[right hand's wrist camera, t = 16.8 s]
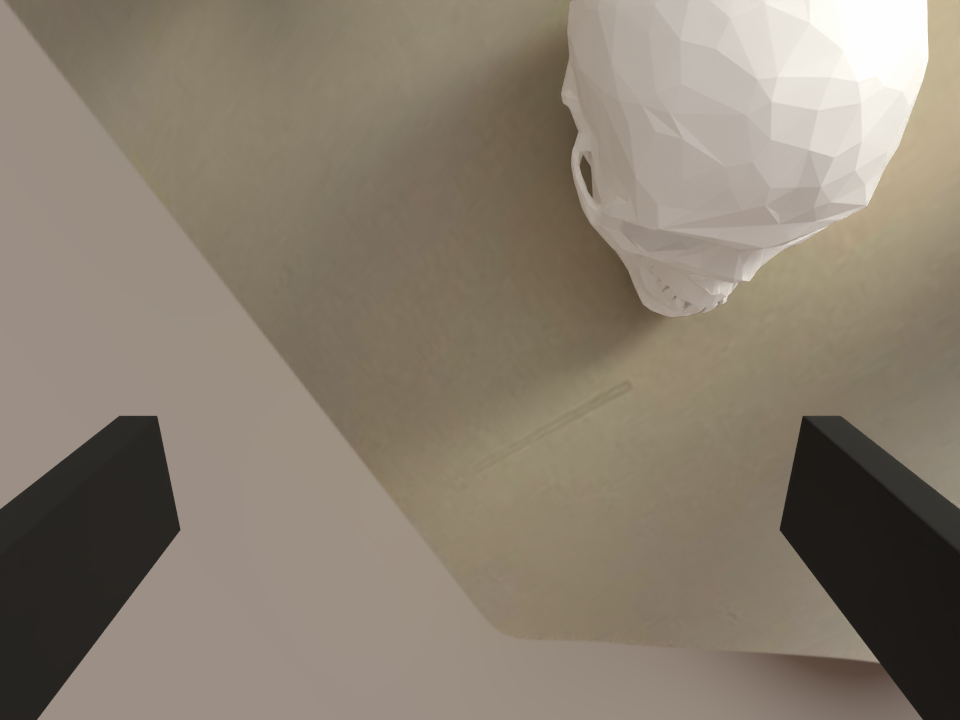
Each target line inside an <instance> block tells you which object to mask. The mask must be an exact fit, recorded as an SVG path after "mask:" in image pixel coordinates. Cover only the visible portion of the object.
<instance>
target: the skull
mask: <svg viewBox="0 0 960 720" xmlns="http://www.w3.org/2000/svg"><path fill="white" fill-rule="evenodd" d="M567 37H568V47H569V61H568V66H567V70H566V74H565V78H564V83H563V87H562V91H561V97H562V102H563V104H565V105H566V106H568V107H569V109H570V111H571V114H572V116H573V119H574V121H575V124H576V127H577V129H578V135H577V138H576V141H575V145H574V148H573V150H572V159H571V167H572V173H573V179H574V183H575V186H576V190H577V193H578V196H579V200H580V203H581V207H582V210H583V212H584V213H585V215H586V217H587V218H588V220H589V222H590V224H591V225H592V226H593V227H594V228H595V230H596V231H597V232H598V233H599V234H600V235H601V236H602V237H603V239H604V240H605V241H606V242H607V243H608V244H609V245H610V247H611V248H612V249H614V250H615V251H616V253H617V254H618V256H619V257H620V259H621V260H622V262H623V263H624V265H625V266H626V268H627V269H628V271H629V274H630V277H631V279H632V282H633V284H634V287H635V289H636V291H637V293H638V295H639V298H640V300H641V302H642V304H643V305H644V306H646V307H647V308H648V309H650V310H651V311H654V312H656V313H659V314H662V315H664V316H667V317H681V316H688V315H692V314H695V313H699V312H700V311H701V310H702V309H703V311H702V313H705V312H708V311H711V310H713V309H714V308H715V307H716V306H718V304H719V305H721V304H724V303H725V302H726V301H727V298H728V295H729V294H730V293H732V291H733V290H734V288H735V287H736V286H737V284H738V283H741V282H748V281H750V280H751V278H752V277H753V276H754V275H755V273H756V272H757V271H758V269H759V268H760V267H761V266H762V265H764V264H765V263H766V262H767V261H769V260H770V259H771V258H773V257H774V256H775V255H776V254H778V253H779V252H780V251H782V250H785V249H787V248H790V247H792V246H795V245H797V244H800V243H802V242H803V241H805V240H807V239H808V238H810V237H812V236H813V235H815V234H816V233H818V232H820V231H821V230H823V229H825V228H826V227H828V226H829V225H830V224H832V223H835V222H837V221H839V220H841V219H843V218H845V217H847V216H849V215H852V214H854V213H856V212H858V211H860V210H862V209H864V208H866V207H867V206H868V203H869V201H870V199H871V197H872V195H873V193H874V191H875V188H876V186H877V184H878V182H879V180H880V178H881V176H882V174H883V171H884V169H885V167H886V165H887V164H888V162H889V161H890V159H891V157H892V156H893V154H894V153H895V151H896V149H897V148H898V146H899V144H900V141H901V138H902V136H903V133H904V130H905V127H906V125H907V122H908V119H909V117H910V114H911V111H912V109H913V106H914V103H915V101H916V98H917V95H918V92H919V90H920V87H921V84H922V82H923V78H924V74H925V70H926V66H927V62H928V26H927V0H571V2H570V6H569V14H568V25H567ZM583 155H584V157H585V158H586V160H587V162H588V163H589V164H590V166H591V173H592V189H593V198H592V197H591V195H590V194H589V193H588V190H587V187H586V184H585V181H584V179H583V177H582V175H581V170H580V163H581V160H582V156H583ZM702 313H701V314H702Z"/></svg>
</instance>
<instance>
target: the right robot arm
mask: <svg viewBox="0 0 960 720" xmlns="http://www.w3.org/2000/svg"><path fill="white" fill-rule="evenodd" d="M179 531H180V525H179V521H178V516H177V511H176V506H175V501H174V496H173V491H172V486H171V481H170V476H169V472H168V467H167V462H166V457H165V452H164V447H163V442H162V437H161V432H160V428H159V423H158V418H157V416H119V417H118V418H116V419H115V420H114V421H112V422H111V423H110V424H109V425H107V426H106V427H105V428H103V429H102V430H101V431H100V432H98V433H97V434H96V435H94V436H93V437H92V438H91V439H89V440H88V441H87V442H86V443H84V444H83V445H82V446H81V447H79V448H78V449H77V450H75V451H74V452H73V453H72V454H70V455H69V456H68V457H66V458H65V459H64V460H63V461H61V462H60V463H59V464H58V465H56V466H55V467H54V468H52V469H51V470H50V471H49V472H47V473H46V474H45V475H44V476H42V477H41V478H40V479H38V480H37V481H36V482H35V483H33V484H32V485H31V486H29V487H28V488H27V489H26V490H24V491H23V492H22V493H20V494H19V495H18V496H17V497H15V498H14V499H13V500H12V501H10V502H9V503H8V504H6V505H5V506H4V507H3V508H1V509H0V720H37V719H38V717H39V716H40V715H41V714H42V712H43V711H44V710H45V708H46V707H47V706H48V704H49V703H50V702H51V700H52V699H53V698H54V696H55V695H56V694H57V692H58V691H59V690H60V689H61V687H62V686H63V684H64V683H65V682H66V681H67V679H68V678H69V677H70V675H71V674H72V673H73V671H74V670H75V669H76V667H77V666H78V665H79V663H80V662H81V661H82V659H83V658H84V657H85V655H86V654H87V653H88V651H89V650H90V649H91V648H92V646H93V645H94V644H95V642H96V641H97V640H98V638H99V637H100V636H101V634H102V633H103V632H104V630H105V629H106V628H107V626H108V625H109V624H110V622H111V621H112V620H113V618H114V617H115V616H116V614H117V613H118V612H119V610H120V609H121V608H122V606H123V605H124V604H125V603H126V601H127V600H128V599H129V597H130V596H131V595H132V593H133V592H134V591H135V589H136V588H137V587H138V585H139V584H140V583H141V581H142V580H143V579H144V577H145V576H146V575H147V573H148V572H149V571H150V569H151V568H152V567H153V565H154V564H155V563H156V562H157V560H158V559H159V558H160V556H161V555H162V554H163V552H164V551H165V550H166V548H167V547H168V546H169V544H170V543H171V542H172V540H173V539H174V538H175V536H176V535H177V534H178V532H179ZM780 531H781V532H782V534H783V535H784V536H785V538H786V539H787V540H788V542H789V543H790V544H791V546H792V547H793V548H794V550H795V551H796V552H797V554H798V555H799V556H800V558H801V559H802V560H803V562H804V563H805V564H806V565H807V567H808V568H809V569H810V571H811V572H812V573H813V575H814V576H815V577H816V579H817V580H818V581H819V583H820V584H821V585H822V587H823V588H824V589H825V591H826V592H827V593H828V595H829V596H830V597H831V599H832V600H833V601H834V603H835V604H836V605H837V606H838V608H839V609H840V610H841V612H842V613H843V614H844V616H845V617H846V618H847V620H848V621H849V622H850V624H851V625H852V626H853V628H854V629H855V630H856V632H857V633H858V634H859V636H860V637H861V638H862V640H863V641H864V642H865V644H866V645H867V646H868V648H869V649H870V650H871V651H872V653H873V654H874V655H875V657H876V658H877V659H878V661H879V662H880V663H881V665H882V666H883V667H884V669H885V670H886V671H887V673H888V674H889V675H890V677H891V678H892V679H893V681H894V682H895V683H896V684H897V686H898V687H899V689H900V690H901V691H902V692H903V694H904V695H905V696H906V698H907V699H908V700H909V702H910V703H911V704H912V706H913V707H914V708H915V710H916V711H917V712H918V714H919V715H920V716H921V718H922V719H923V720H960V509H959V508H957V507H956V506H955V505H954V504H952V503H951V502H950V501H948V500H947V499H946V498H945V497H943V496H942V495H941V494H940V493H938V492H937V491H936V490H934V489H933V488H932V487H931V486H929V485H928V484H927V483H925V482H924V481H923V480H922V479H920V478H919V477H918V476H917V475H915V474H914V473H913V472H911V471H910V470H909V469H908V468H906V467H905V466H904V465H903V464H901V463H900V462H899V461H897V460H896V459H895V458H894V457H892V456H891V455H890V454H888V453H887V452H886V451H885V450H883V449H882V448H881V447H880V446H878V445H877V444H876V443H874V442H873V441H872V440H871V439H869V438H868V437H867V436H866V435H864V434H863V433H862V432H860V431H859V430H858V429H857V428H855V427H854V426H853V425H851V424H850V423H849V422H848V421H846V420H845V419H844V418H843V417H841V416H803V418H802V423H801V427H800V432H799V437H798V442H797V447H796V452H795V457H794V462H793V467H792V472H791V476H790V481H789V486H788V491H787V496H786V501H785V506H784V511H783V516H782V521H781V525H780Z"/></svg>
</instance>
